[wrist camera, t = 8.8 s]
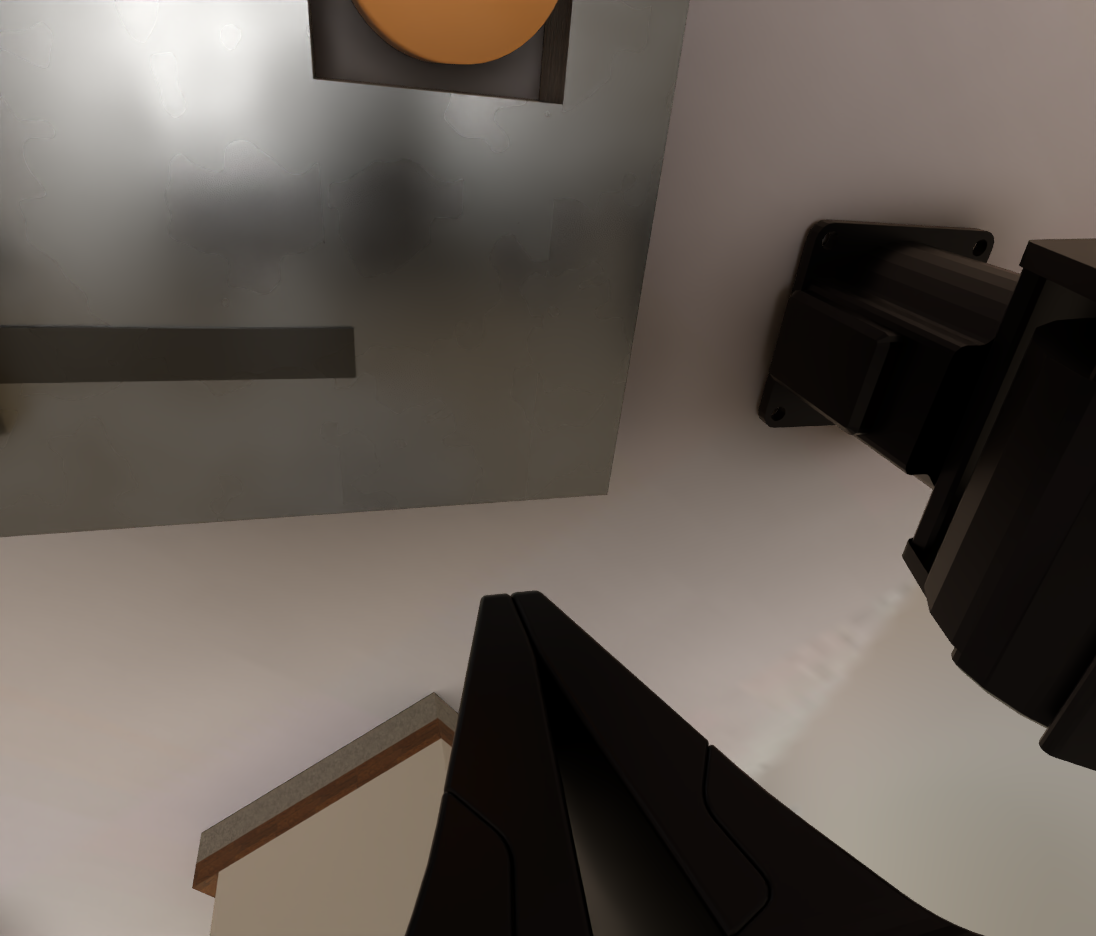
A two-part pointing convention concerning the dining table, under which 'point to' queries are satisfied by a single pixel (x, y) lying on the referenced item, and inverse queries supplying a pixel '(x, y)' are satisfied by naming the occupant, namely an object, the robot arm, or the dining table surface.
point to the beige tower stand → (335, 837)
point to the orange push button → (455, 26)
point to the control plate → (312, 265)
